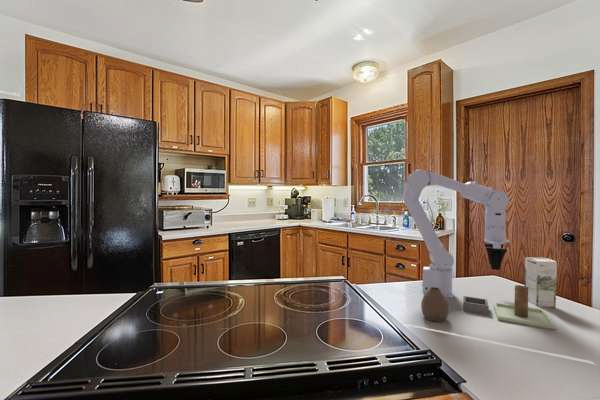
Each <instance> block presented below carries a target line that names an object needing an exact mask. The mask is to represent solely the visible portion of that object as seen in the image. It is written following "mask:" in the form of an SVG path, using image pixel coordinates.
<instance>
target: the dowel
mask: <svg viewBox="0 0 600 400" xmlns="http://www.w3.org/2000/svg"><path fill="white" fill-rule="evenodd" d="M514 305H515V306H514V315H516V316H518V317H523V318H527V317H528V307H529V302H528V287H525V285H514Z"/></svg>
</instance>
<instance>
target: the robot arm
mask: <svg viewBox="0 0 600 400" xmlns="http://www.w3.org/2000/svg"><path fill="white" fill-rule="evenodd" d="M429 186H439V187H442V188H445V189H448V190H452V191H456V192H459V193H460V195H461V197H462V198H463V199H467V200H470V201H472V202H476V203H479V204H481V205H482V204H483V206H485V207H484V208H485V211H484V238H483V242H485V243H483V245H484V247H485V249H486V252H487V257H488V258H487V259H488V264H489V265H490V268H491V269H492V270H493V271H494V270H495V271H496V270H497V271H500V270H501V267H502V263H503V260H504V256H505V254H506V253H507V251H508V250H507V248H503V247H504V244H506V243H509V244H510V240H509V239H506V215H507V214H506V207H507V206H508V204H509V203H510V199H509V197H508V195H507V193H506V192H504V191H503V190H493V189H494V188H493V186H488V187H487V186H485V185H482V184H479V182H478V181H468V182H466V183H463V182H461V181H459V180H455V179H453V178H449V177H447V176H444V175H442V174H439V173H436V172H432V171H425V170H424V169H416V170H414V171H413V172H411V173H410V174H409V175H408V176H407V178H406V180H405V182H404V191H403V196H402V197H403V203H404V204H405V206H406V208H407V210H408V212H409V214H410V216H411V218H412V220H413V222H414V223H415V226H416V227H417V230H418V232H419V233H420V236H421V237H422V239H423V241H424V243H425V245H426V248H427V250H428V258H429V259H430V262H431V263H430V264H429V266H423V268H422V285H421V287H422V294H424V295H425V294H426V293H427V292H428V291H429V290H430V288H431V287H437V288H439V289H440V291H441V293H442V294H443V295H444V297H445V298H446V297H447V298H454V293H455V292H454V290H453V266H454V263H455V260H454V259H455V258H454V257H453V255H452V254H451V253H450V252H448V250H447V249H446V248H445V246H444V244H443V243H442V241H441V239H440V238H439V237H438V234H437V233H436V231H435V229H434V228H435V227H434V226H433V224H432V223H431V221H430V219H429V217H428V215H427V214H426V211H425V208H423V206H422V204H421V202H420V200H419V198H420V196H421V194H422V193H423V192H422V191H423V190H424V189H425V188H426V187H429Z"/></svg>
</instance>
